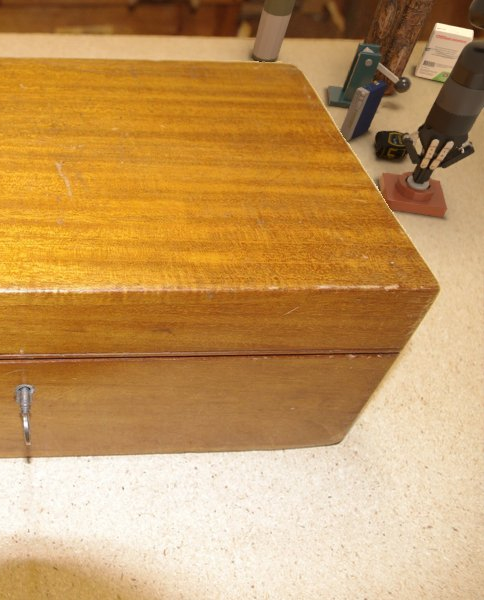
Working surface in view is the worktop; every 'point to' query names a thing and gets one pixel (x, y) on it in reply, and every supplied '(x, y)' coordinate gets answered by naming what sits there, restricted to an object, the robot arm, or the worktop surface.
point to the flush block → (412, 195)
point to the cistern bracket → (356, 75)
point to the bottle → (272, 29)
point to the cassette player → (363, 109)
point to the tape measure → (390, 144)
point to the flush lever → (393, 77)
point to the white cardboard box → (442, 51)
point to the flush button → (416, 185)
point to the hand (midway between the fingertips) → (417, 181)
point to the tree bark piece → (396, 34)
